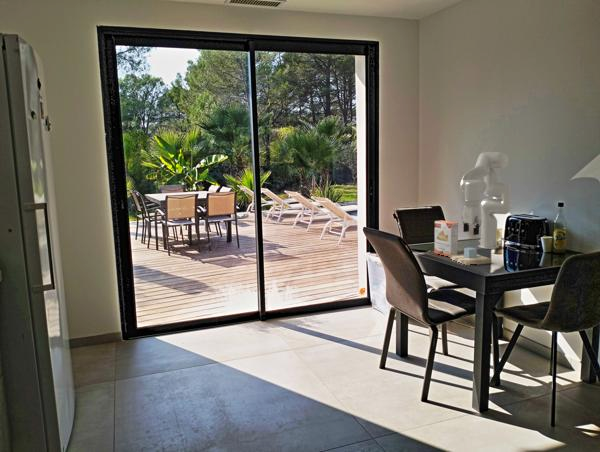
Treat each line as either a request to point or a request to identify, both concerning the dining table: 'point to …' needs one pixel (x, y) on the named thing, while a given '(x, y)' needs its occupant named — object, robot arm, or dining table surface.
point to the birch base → (470, 259)
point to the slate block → (470, 252)
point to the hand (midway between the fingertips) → (471, 233)
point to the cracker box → (446, 238)
